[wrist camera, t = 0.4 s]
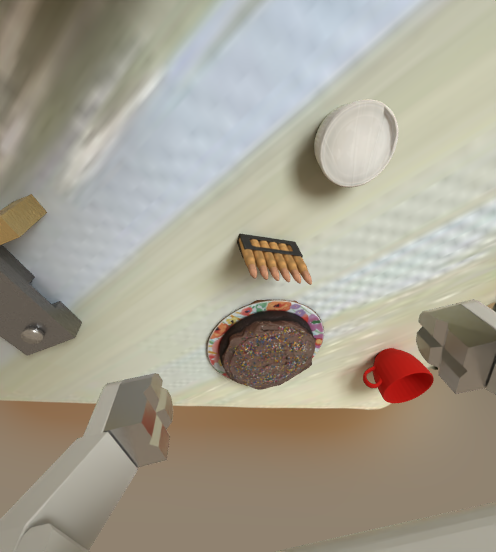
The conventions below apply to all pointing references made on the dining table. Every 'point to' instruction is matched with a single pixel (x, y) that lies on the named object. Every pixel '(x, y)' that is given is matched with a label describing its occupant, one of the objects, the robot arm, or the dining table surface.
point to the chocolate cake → (266, 342)
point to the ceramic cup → (399, 376)
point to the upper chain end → (31, 315)
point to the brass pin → (19, 218)
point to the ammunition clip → (273, 258)
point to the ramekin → (356, 142)
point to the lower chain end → (15, 264)
